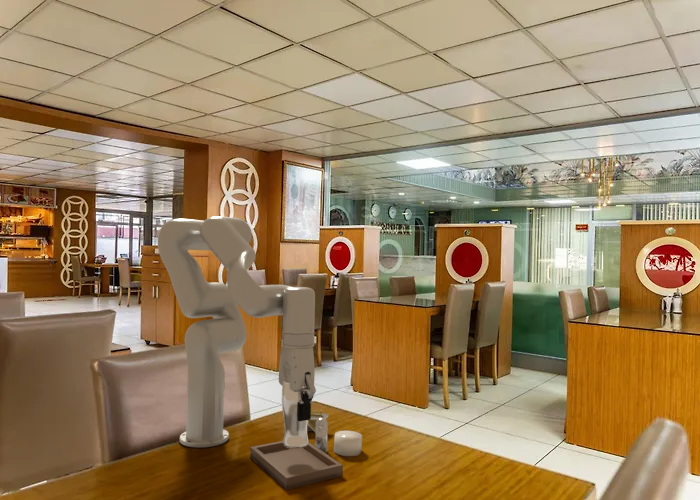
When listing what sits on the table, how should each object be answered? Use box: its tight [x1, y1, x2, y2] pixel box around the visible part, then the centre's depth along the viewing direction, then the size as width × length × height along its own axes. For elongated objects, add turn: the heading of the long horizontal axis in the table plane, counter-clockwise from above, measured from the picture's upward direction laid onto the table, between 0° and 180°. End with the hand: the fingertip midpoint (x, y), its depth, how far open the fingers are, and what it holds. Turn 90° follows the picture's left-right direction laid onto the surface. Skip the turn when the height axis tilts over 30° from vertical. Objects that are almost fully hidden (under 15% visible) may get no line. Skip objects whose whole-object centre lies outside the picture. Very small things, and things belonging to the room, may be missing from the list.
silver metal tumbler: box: [281, 380, 310, 449], centre depth 121 cm, size 7×7×15 cm
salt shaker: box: [314, 418, 329, 454], centre depth 131 cm, size 3×3×8 cm
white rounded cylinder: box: [333, 430, 363, 457], centre depth 131 cm, size 7×7×4 cm
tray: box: [249, 440, 344, 491], centre depth 121 cm, size 20×14×2 cm
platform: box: [307, 408, 329, 433], centre depth 145 cm, size 12×18×7 cm, turn 87°
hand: (296, 415), depth 121 cm, fingers closed on silver metal tumbler, 6 cm apart
